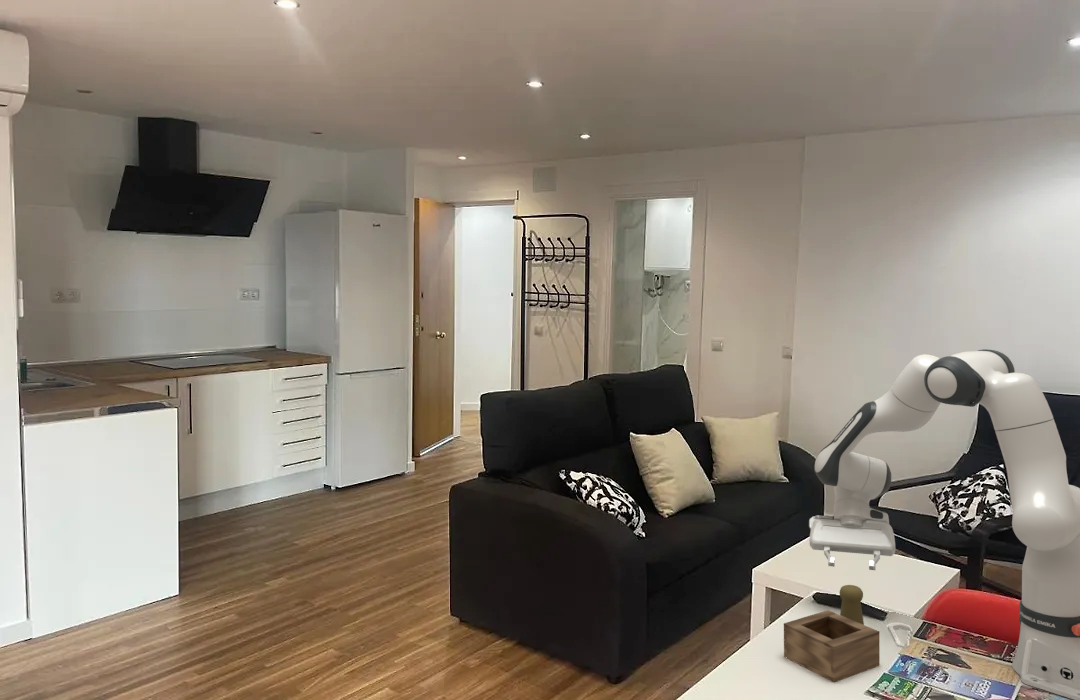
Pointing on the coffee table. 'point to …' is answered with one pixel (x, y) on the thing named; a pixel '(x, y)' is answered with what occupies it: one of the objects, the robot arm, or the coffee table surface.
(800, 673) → the coffee table surface
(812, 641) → the walnut box
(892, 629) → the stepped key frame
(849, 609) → the cork
